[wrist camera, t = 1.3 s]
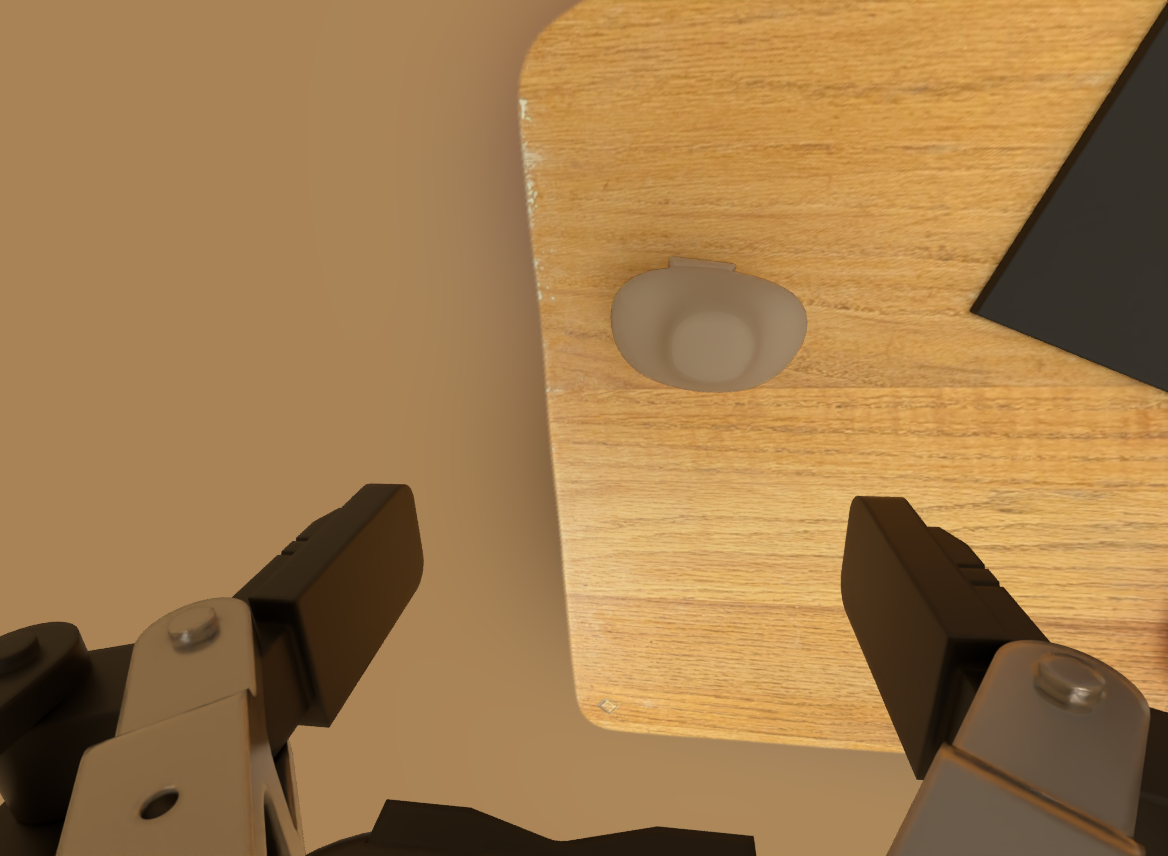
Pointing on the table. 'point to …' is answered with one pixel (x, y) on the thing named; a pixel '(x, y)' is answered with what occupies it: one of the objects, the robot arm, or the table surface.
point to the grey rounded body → (707, 326)
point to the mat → (1101, 235)
